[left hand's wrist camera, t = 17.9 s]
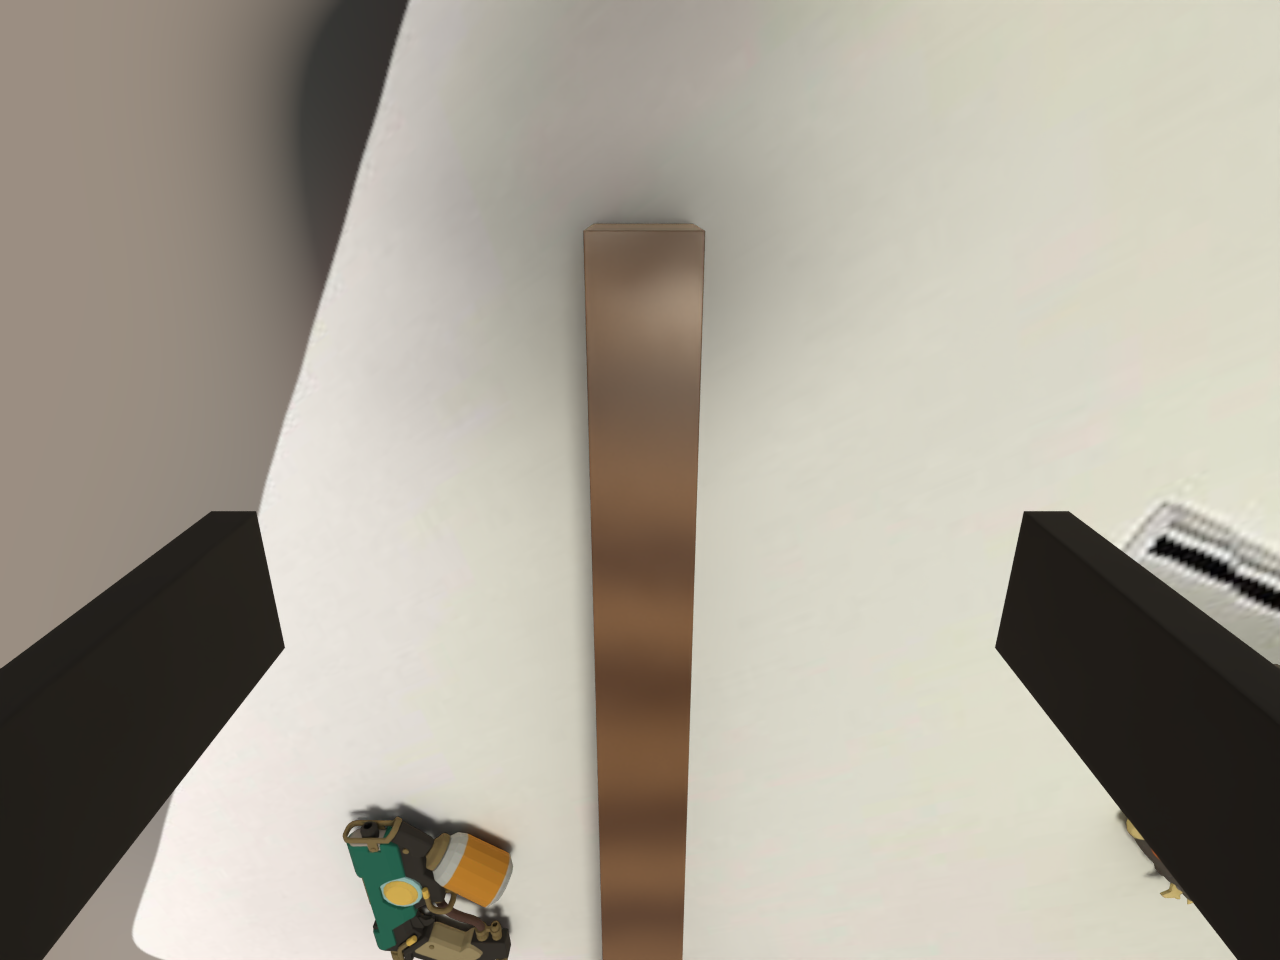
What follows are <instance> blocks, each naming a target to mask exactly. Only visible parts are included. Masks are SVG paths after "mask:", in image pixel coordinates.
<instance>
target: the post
mask: <svg viewBox="0 0 1280 960" xmlns="http://www.w3.org/2000/svg"><path fill="white" fill-rule="evenodd" d="M583 236H584V274H585V311H586V349H587V387H588V424H589V462H590V500H591V537H592V575H593V613H594V650H595V688H596V726H597V763H598V801H599V839H600V876H601V914H602V952H603V960H682V955H683V923H684V891H685V859H686V827H687V795H688V763H689V731H690V699H691V667H692V635H693V603H694V571H695V539H696V508H697V476H698V444H699V412H700V380H701V348H702V316H703V284H704V252H705V231H704V230H703V229H701V228H699V227H698V226H696V225H694V224H593V225H591V226H590V227H588V228H587V229H585V230H584V231H583Z"/></svg>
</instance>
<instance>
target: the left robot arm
mask: <svg viewBox="0 0 1280 960" xmlns="http://www.w3.org/2000/svg"><path fill="white" fill-rule="evenodd" d="M284 648H285V646H284V641H283V637H282V632H281V627H280V622H279V618H278V613H277V608H276V603H275V599H274V594H273V589H272V584H271V580H270V575H269V570H268V565H267V561H266V556H265V551H264V547H263V542H262V537H261V532H260V528H259V523H258V518H257V513H256V511H211V512H210V513H208V514H207V515H206V516H204V517H203V518H202V519H200V520H199V521H198V522H196V523H195V524H194V525H192V526H191V527H190V528H188V529H187V530H186V531H184V532H183V533H182V534H180V535H179V536H178V537H176V538H175V539H174V540H172V541H171V542H170V543H168V544H167V545H166V546H164V547H163V548H162V549H160V550H159V551H158V552H156V553H155V554H154V555H152V556H151V557H150V558H148V559H147V560H146V561H144V562H143V563H142V564H140V565H139V566H138V567H136V568H135V569H134V570H132V571H131V572H130V573H128V574H127V575H125V576H124V577H123V578H121V579H120V580H119V581H118V582H116V583H115V584H114V585H112V586H111V587H109V588H108V589H107V590H105V591H104V592H103V593H101V594H100V595H99V596H97V597H96V598H95V599H93V600H92V601H91V602H89V603H88V604H87V605H85V606H84V607H83V608H81V609H80V610H79V611H77V612H76V613H75V614H73V615H72V616H71V617H69V618H68V619H67V620H65V621H64V622H63V623H61V624H60V625H59V626H57V627H56V628H55V629H53V630H52V631H51V632H49V633H48V634H47V635H45V636H44V637H43V638H41V639H40V640H39V641H37V642H36V643H35V644H33V645H32V646H31V647H29V648H28V649H27V650H25V651H24V652H23V653H21V654H20V655H19V656H17V657H16V658H14V659H13V660H12V661H11V662H9V663H8V664H6V665H5V666H4V667H2V668H0V960H43V958H44V957H45V956H46V954H47V953H48V952H49V951H50V949H51V948H52V947H53V945H54V944H55V943H56V942H57V940H58V939H59V938H60V936H61V935H62V934H63V933H64V931H65V930H66V929H67V927H68V926H69V925H70V924H71V922H72V921H73V920H74V918H75V917H76V916H77V915H78V913H79V912H80V911H81V909H82V908H83V907H84V906H85V904H86V903H87V902H88V900H89V899H90V898H91V897H92V895H93V894H94V893H95V891H96V890H97V889H98V888H99V886H100V885H101V884H102V882H103V881H104V880H105V879H106V877H107V876H108V875H109V873H110V872H111V871H112V869H113V868H114V867H115V866H116V864H117V863H118V862H119V861H120V859H121V858H122V857H123V855H124V854H125V853H126V852H127V850H128V849H129V848H130V846H131V845H132V844H133V843H134V841H135V840H136V839H137V837H138V836H139V835H140V834H141V832H142V831H143V830H144V828H145V827H146V826H147V824H148V823H149V822H150V821H151V819H152V818H153V817H154V815H155V814H156V813H157V812H158V810H159V809H160V808H161V806H162V805H163V804H164V803H165V801H166V800H167V799H168V797H169V796H170V795H171V794H172V792H173V791H174V790H175V788H176V787H177V786H178V785H179V783H180V782H181V781H182V779H183V778H184V777H185V776H186V774H187V773H188V772H189V770H190V769H191V768H192V767H193V765H194V764H195V763H196V761H197V760H198V759H199V758H200V756H201V755H202V754H203V752H204V751H205V750H206V749H207V747H208V746H209V745H210V743H211V742H212V741H213V740H214V738H215V737H216V736H217V734H218V733H219V732H220V731H221V729H222V728H223V727H224V725H225V724H226V723H227V722H228V720H229V719H230V718H231V716H232V715H233V714H234V713H235V711H236V710H237V709H238V707H239V706H240V705H241V704H242V702H243V701H244V700H245V698H246V697H247V696H248V695H249V693H250V692H251V691H252V689H253V688H254V687H255V686H256V684H257V683H258V682H259V680H260V679H261V678H262V677H263V675H264V674H265V673H266V671H267V670H268V669H269V668H270V666H271V665H272V664H273V662H274V661H275V660H276V659H277V657H278V656H279V655H280V653H281V652H282V651H283V650H284ZM995 648H996V650H997V651H998V652H999V653H1000V655H1001V656H1002V657H1003V659H1004V660H1005V661H1006V662H1007V664H1008V665H1009V666H1010V668H1011V669H1012V670H1013V671H1014V673H1015V674H1016V675H1017V677H1018V678H1019V679H1020V680H1021V682H1022V683H1023V684H1024V686H1025V687H1026V688H1027V689H1028V691H1029V692H1030V693H1031V695H1032V696H1033V697H1034V698H1035V700H1036V701H1037V702H1038V704H1039V705H1040V706H1041V707H1042V709H1043V710H1044V711H1045V713H1046V714H1047V715H1048V716H1049V718H1050V719H1051V720H1052V722H1053V723H1054V724H1055V725H1056V727H1057V728H1058V729H1059V731H1060V732H1061V733H1062V734H1063V736H1064V737H1065V738H1066V740H1067V741H1068V742H1069V743H1070V745H1071V746H1072V747H1073V749H1074V750H1075V751H1076V752H1077V754H1078V755H1079V756H1080V758H1081V759H1082V760H1083V761H1084V763H1085V764H1086V765H1087V767H1088V768H1089V769H1090V770H1091V772H1092V773H1093V774H1094V776H1095V777H1096V778H1097V779H1098V781H1099V782H1100V783H1101V785H1102V786H1103V787H1104V788H1105V790H1106V791H1107V792H1108V794H1109V795H1110V796H1111V797H1112V799H1113V800H1114V801H1115V803H1116V804H1117V805H1118V806H1119V808H1120V809H1121V810H1122V812H1123V813H1124V814H1125V816H1126V817H1127V818H1128V819H1129V821H1130V822H1131V823H1132V825H1133V826H1134V827H1135V828H1136V830H1137V831H1138V832H1139V834H1140V835H1141V836H1142V837H1143V839H1144V840H1145V841H1146V843H1147V844H1148V845H1149V846H1150V848H1151V849H1152V850H1153V852H1154V853H1155V854H1156V855H1157V857H1158V858H1159V859H1160V861H1161V862H1162V863H1163V864H1164V866H1165V867H1166V868H1167V870H1168V871H1169V872H1170V873H1171V875H1172V876H1173V877H1174V879H1175V880H1176V881H1177V882H1178V884H1179V885H1180V886H1181V888H1182V889H1183V890H1184V891H1185V893H1186V894H1187V895H1188V897H1189V898H1190V899H1191V900H1192V902H1193V903H1194V904H1195V906H1196V907H1197V908H1198V909H1199V911H1200V912H1201V913H1202V915H1203V916H1204V917H1205V918H1206V920H1207V921H1208V922H1209V924H1210V925H1211V926H1212V927H1213V929H1214V930H1215V931H1216V933H1217V934H1218V935H1219V936H1220V938H1221V939H1222V940H1223V942H1224V943H1225V944H1226V945H1227V947H1228V948H1229V949H1230V951H1231V952H1232V953H1233V954H1234V956H1235V957H1236V958H1237V960H1280V665H1278V664H1272V663H1271V662H1270V661H1268V660H1267V659H1266V658H1264V657H1263V656H1262V655H1260V654H1259V653H1257V652H1256V651H1255V650H1253V649H1252V648H1251V647H1249V646H1248V645H1247V644H1245V643H1244V642H1243V641H1241V640H1240V639H1239V638H1237V637H1236V636H1235V635H1233V634H1232V633H1231V632H1229V631H1228V630H1227V629H1225V628H1224V627H1223V626H1221V625H1220V624H1219V623H1217V622H1216V621H1215V620H1213V619H1212V618H1211V617H1209V616H1208V615H1207V614H1205V613H1204V612H1203V611H1201V610H1200V609H1199V608H1197V607H1196V606H1195V605H1193V604H1192V603H1191V602H1189V601H1188V600H1187V599H1185V598H1184V597H1183V596H1181V595H1180V594H1179V593H1177V592H1176V591H1175V590H1173V589H1172V588H1171V587H1169V586H1168V585H1167V584H1165V583H1164V582H1163V581H1161V580H1160V579H1159V578H1157V577H1156V576H1155V575H1153V574H1152V573H1150V572H1149V571H1148V570H1146V569H1145V568H1144V567H1142V566H1141V565H1140V564H1138V563H1137V562H1136V561H1134V560H1133V559H1132V558H1130V557H1129V556H1128V555H1126V554H1125V553H1124V552H1122V551H1121V550H1120V549H1118V548H1117V547H1116V546H1114V545H1113V544H1112V543H1110V542H1109V541H1108V540H1106V539H1105V538H1104V537H1102V536H1101V535H1100V534H1098V533H1097V532H1096V531H1094V530H1093V529H1092V528H1090V527H1089V526H1088V525H1086V524H1085V523H1084V522H1082V521H1081V520H1080V519H1078V518H1077V517H1076V516H1074V515H1073V514H1072V513H1070V512H1069V511H1024V513H1023V518H1022V523H1021V528H1020V532H1019V537H1018V542H1017V546H1016V551H1015V556H1014V561H1013V565H1012V570H1011V575H1010V580H1009V584H1008V589H1007V594H1006V599H1005V603H1004V608H1003V613H1002V618H1001V622H1000V627H999V632H998V637H997V641H996V646H995Z"/></svg>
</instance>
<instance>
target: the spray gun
mask: <svg viewBox="0 0 1280 960" xmlns="http://www.w3.org/2000/svg"><path fill="white" fill-rule="evenodd" d="M355 826H362V827H361V829H358V830H356V831H354V832H353V833H351V834H350V835H349V837H347V836H348V834H349V832H350V830H351V829H352V828H353V827H355ZM385 826H388V827H387V829H385ZM391 826H393V827H391ZM343 839H344V841H345V842H346V843H347V846H348V849H349V853H350V856H351V859H352V862H353V866H354V869H355V872H356V874H357V876H359V877H360V878H362V880H363V883H364V886H365V889H366V892H367V896H368V899H369V902H370V904H371V907H372V910H373V913H374V916H375V919H376V920H375V923H374V925H373V932H374V936H375V939H376V942H377V945H378V947H379V949H381V950H385V951H391V954H392V958H393V960H413V958H414V957H416V958H419V959H422V960H495V959H496V960H508V956H509V951H510V947H511V942H510V937H509V932H508V929H501V925H500V923H499V922H498V921H493V922H492V923H491V926H487V925H486V923H485V922H484V921H482V920H481V919H480V918H478V917H476V916H474V915H471V914H467V913H464V912H461V911H459V910H456V909H454V908H453V906H454V904H455V901H456V896H457V894H458V895H460V896H462V897H464V898H467V899H469V900H471V901H473V902H475V903H477V904H479V905H481V906H483V907H489V906H490V905H492V904H493V903H495V902H496V901H498V900H499V898H500V897H501V896H502V894H503V892H504V890H505V889H506V887H507V884H508V882H509V879H510V877H511V874H512V870H513V864H512V860H511V856H510V854H509V853H508V852H506V851H504V850H502V849H499V848H497V847H495V846H493V845H491V844H489V843H487V842H485V841H482V840H480V839H478V838H476V837H474V836H472V835H470V834H467V833H461V832H457V833H455V834H453V835H449V834H447V833H442V834H441V835H440V836H439V837H438V838H436V839H433V838H432V837H431V836H429V835H427V834H426V833H424V832H422V831H420V830H419V829H417V828H415V827H413V826H412V825H410V824H408V823H406V822H405V821H402V818H400V817H398V816H397V817H396V818H395V819H394V820H356V821H352V822H351V823H349V824H348V825H347V827H346V829H345V831H344V833H343ZM425 855H426V856H425ZM446 893H451V899H450V901H449V904H447V903H446V902H445V900H444V898H445V895H446ZM432 902H435V903H436V904H437V906H438V907H436V906H434V905H433V904H432ZM424 905H426V906H427V908H428V910H429V911H430V912H432V913H435V914H439V915H441V914H446V915H447V916H449V917H451V918H453V919H456V920H458V921H461V922H464V923H467V924H471V925H473V926H475V928H471V929H470V930H468V931H466V932H465V931H462V930H459V929H456V928H454V927H451V926H448V925H446V924H443V923H440V922H435V917H436V916H434V915H432V916H425V915H423V914H422V913H420V912H419V911H418V908H420V907H422V906H424ZM404 957H405V959H404Z"/></svg>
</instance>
